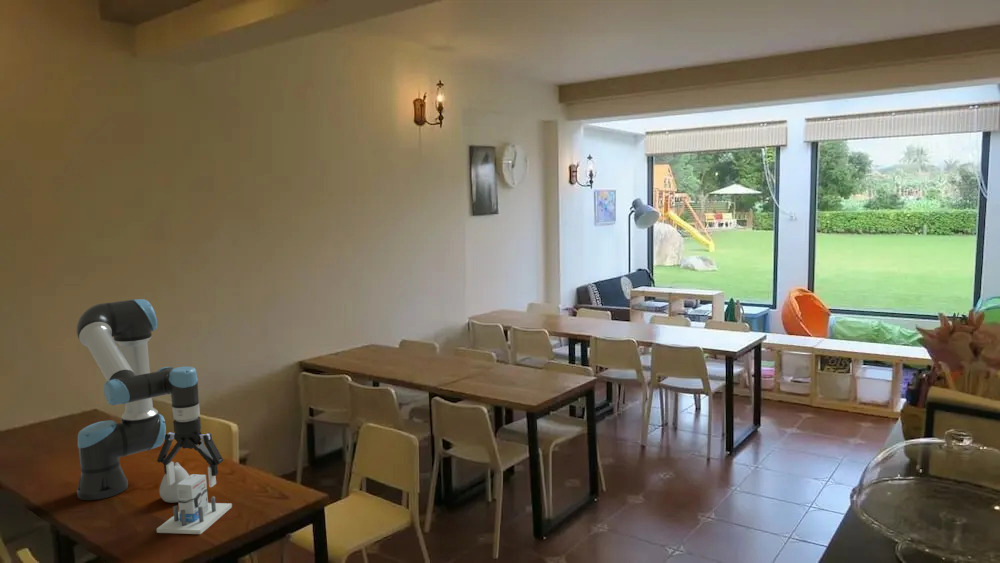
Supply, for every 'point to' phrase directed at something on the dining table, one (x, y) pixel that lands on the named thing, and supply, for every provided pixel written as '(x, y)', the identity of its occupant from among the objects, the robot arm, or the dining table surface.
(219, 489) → the dining table surface
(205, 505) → the ink box
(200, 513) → the peg board
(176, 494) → the toy character
